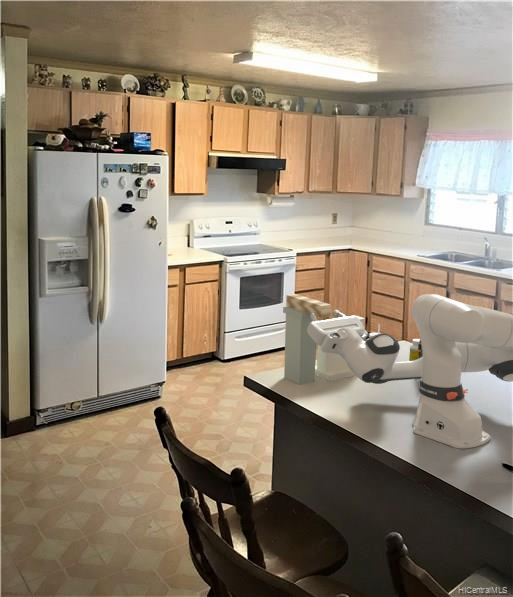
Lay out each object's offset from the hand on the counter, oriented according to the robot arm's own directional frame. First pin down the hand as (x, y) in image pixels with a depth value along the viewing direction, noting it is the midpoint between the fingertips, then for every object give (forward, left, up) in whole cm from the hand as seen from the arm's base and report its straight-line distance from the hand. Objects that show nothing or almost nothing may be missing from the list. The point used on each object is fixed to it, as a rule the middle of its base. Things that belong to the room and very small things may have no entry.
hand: (323, 312), depth 215 cm
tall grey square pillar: (+12, 0, -27) cm, 30 cm away
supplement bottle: (+3, -50, -27) cm, 57 cm away
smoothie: (+17, -42, -27) cm, 53 cm away
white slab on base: (+11, -18, -27) cm, 34 cm away
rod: (+8, 0, -1) cm, 9 cm away
